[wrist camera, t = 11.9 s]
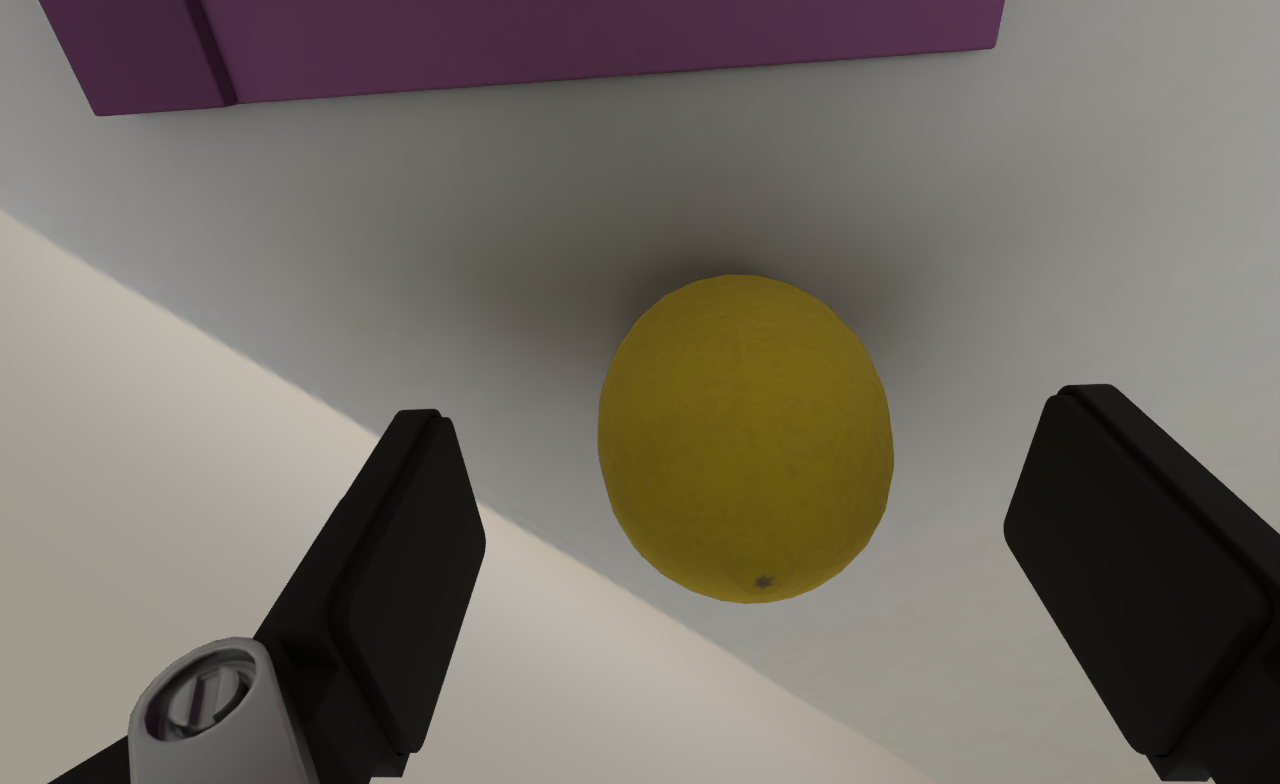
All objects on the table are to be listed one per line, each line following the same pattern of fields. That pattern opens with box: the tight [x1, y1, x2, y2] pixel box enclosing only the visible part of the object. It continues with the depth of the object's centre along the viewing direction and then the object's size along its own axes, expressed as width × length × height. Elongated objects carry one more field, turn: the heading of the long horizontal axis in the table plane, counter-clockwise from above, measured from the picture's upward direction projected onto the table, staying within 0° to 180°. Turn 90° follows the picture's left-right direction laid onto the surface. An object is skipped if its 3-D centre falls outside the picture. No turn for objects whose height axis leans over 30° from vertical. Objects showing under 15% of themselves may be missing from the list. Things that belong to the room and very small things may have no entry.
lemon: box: [598, 274, 894, 604], centre depth 12 cm, size 6×6×8 cm
